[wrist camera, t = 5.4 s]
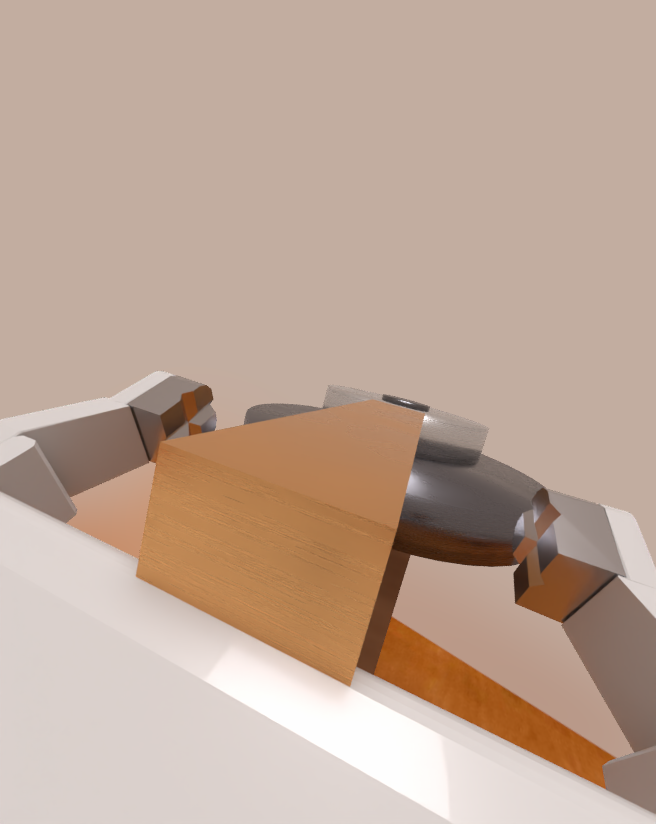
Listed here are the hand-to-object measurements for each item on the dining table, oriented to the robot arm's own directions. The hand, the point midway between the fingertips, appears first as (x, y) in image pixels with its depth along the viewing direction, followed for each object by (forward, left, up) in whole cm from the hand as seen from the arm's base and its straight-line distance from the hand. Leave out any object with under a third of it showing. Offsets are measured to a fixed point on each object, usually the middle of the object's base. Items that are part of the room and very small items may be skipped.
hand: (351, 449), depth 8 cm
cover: (+5, +4, -2) cm, 7 cm away
